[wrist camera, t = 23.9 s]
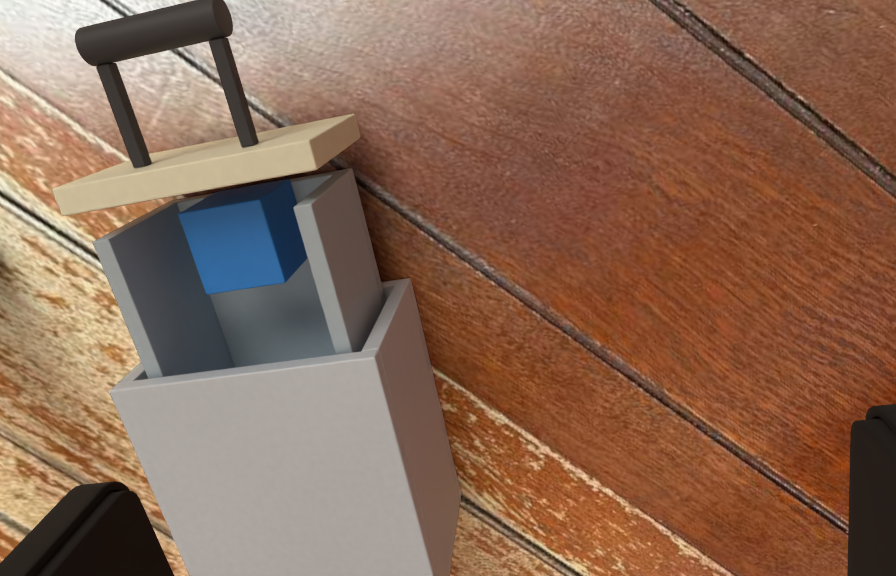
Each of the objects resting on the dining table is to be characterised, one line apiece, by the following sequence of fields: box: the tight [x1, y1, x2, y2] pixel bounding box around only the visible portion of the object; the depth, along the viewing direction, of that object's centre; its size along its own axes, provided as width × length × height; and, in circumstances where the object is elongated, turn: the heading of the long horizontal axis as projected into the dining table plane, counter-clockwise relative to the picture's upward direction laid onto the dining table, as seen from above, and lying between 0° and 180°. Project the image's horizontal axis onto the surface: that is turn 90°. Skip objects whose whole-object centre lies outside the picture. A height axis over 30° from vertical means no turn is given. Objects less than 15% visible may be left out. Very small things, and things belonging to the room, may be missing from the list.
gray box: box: [109, 278, 461, 576], centre depth 36 cm, size 15×13×9 cm
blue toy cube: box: [178, 179, 308, 295], centre depth 32 cm, size 4×4×4 cm
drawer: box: [52, 0, 386, 379], centre depth 31 cm, size 19×11×7 cm, turn 11°
